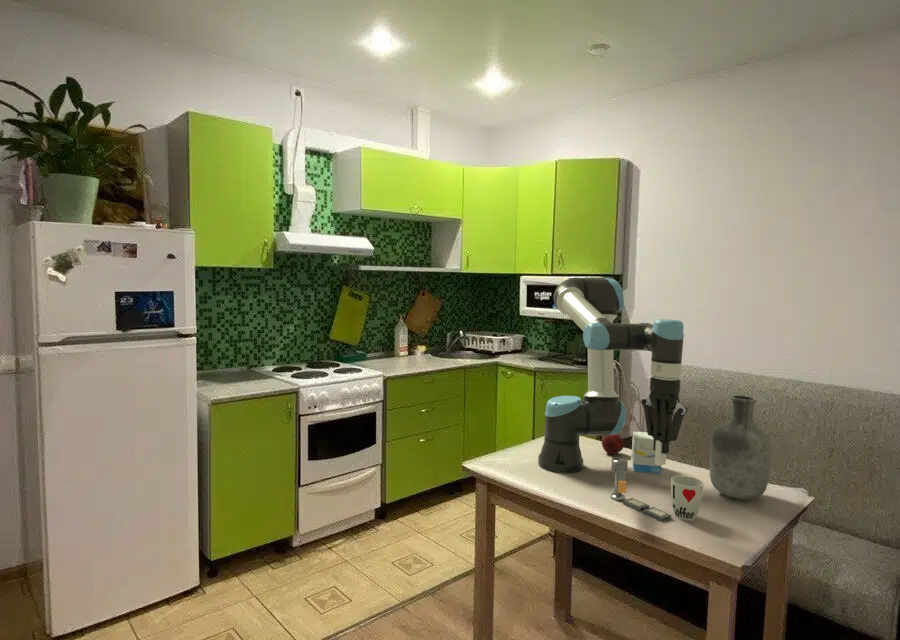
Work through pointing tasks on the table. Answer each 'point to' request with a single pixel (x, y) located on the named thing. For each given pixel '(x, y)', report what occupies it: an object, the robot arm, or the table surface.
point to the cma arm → (620, 473)
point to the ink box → (643, 453)
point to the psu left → (635, 504)
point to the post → (616, 494)
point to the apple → (612, 444)
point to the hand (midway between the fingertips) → (660, 464)
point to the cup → (686, 496)
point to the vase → (740, 453)
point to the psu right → (657, 514)
